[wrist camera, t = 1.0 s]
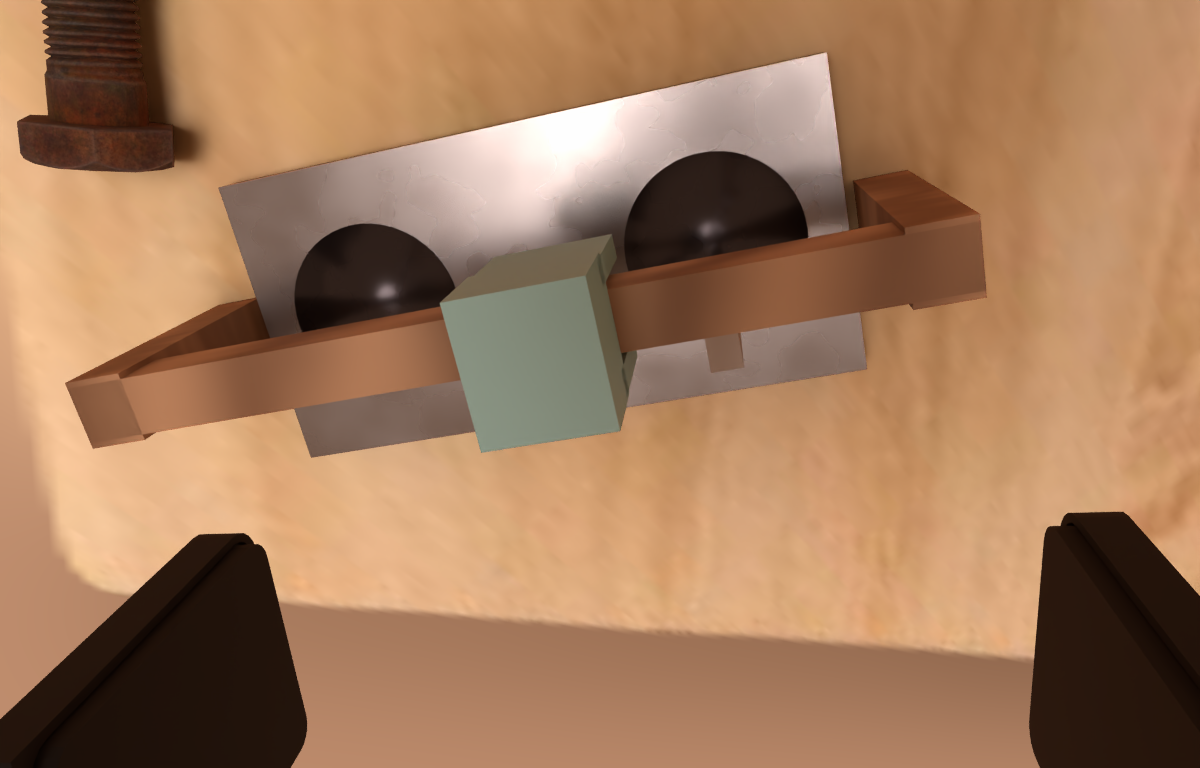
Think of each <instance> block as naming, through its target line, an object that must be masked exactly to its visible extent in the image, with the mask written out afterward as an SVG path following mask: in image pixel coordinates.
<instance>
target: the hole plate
mask: <svg viewBox="0 0 1200 768" xmlns="http://www.w3.org/2000/svg"><path fill="white" fill-rule="evenodd" d="M219 191H220V194H221V197H222V200H223V202H224V205H225V208H226V211H227V214H228V217H229V220H230V223H231V226H232V229H233V232H234V234H235V237H236V240H237V243H238V246H239V249H240V252H241V255H242V258H243V261H244V264H245V267H246V269H247V272H248V275H249V278H250V281H251V284H252V287H253V290H254V293H255V296H256V299H257V301H258V304H259V307H260V310H261V313H262V316H263V319H264V322H265V325H266V328H267V331H268V334H269V336H270V338H275V337H280V336H286V335H291V334H296V333H302V332H307V331H313V330H318V329H323V328H329V327H334V326H339V325H345V324H350V323H355V322H361V321H366V320H371V319H377V318H382V317H388V316H393V315H398V314H404V313H409V312H414V311H420V310H425V309H430V308H436V307H441V306H440V302H441V301H442V300H443V299H444V298H446V297H447V296H448V295H449V294H450V293H451V292H452V291H453V290H454V289H455V288H457V287H458V286H459V285H460V284H461V283H462V282H463V281H464V280H465V279H466V278H468V277H471V276H474V275H475V274H476V273H477V272H478V271H479V270H481V269H482V268H483V267H484V266H485V265H486V264H487V263H488V262H489V261H490V260H491V259H492V258H494V257H496V256H502V255H507V254H512V253H517V252H522V251H527V250H532V249H537V248H543V247H548V246H553V245H558V244H563V243H568V242H573V241H579V240H584V239H589V238H594V237H599V236H604V235H609V234H612V237H613V242H614V247H615V251H616V256H617V259H616V261H615V263H614V265H613V267H612V269H611V272H610V274H609V275H613V274H618V273H623V272H629V271H634V270H639V269H645V268H650V267H655V266H661V265H666V264H671V263H677V262H682V261H688V260H693V259H698V258H704V257H709V256H714V255H720V254H725V253H730V252H736V251H741V250H747V249H752V248H757V247H763V246H768V245H773V244H779V243H784V242H789V241H795V240H800V239H805V238H811V237H816V236H822V235H827V234H832V233H838V232H843V231H848V230H849V223H848V215H847V207H846V200H845V192H844V184H843V176H842V168H841V160H840V153H839V145H838V137H837V129H836V121H835V113H834V105H833V98H832V90H831V82H830V74H829V66H828V58H827V52H824V53H818V54H814V55H809V56H805V57H800V58H796V59H791V60H787V61H782V62H778V63H773V64H769V65H764V66H760V67H756V68H751V69H747V70H742V71H738V72H733V73H729V74H724V75H720V76H715V77H711V78H706V79H702V80H697V81H693V82H688V83H684V84H679V85H675V86H670V87H666V88H661V89H657V90H652V91H648V92H643V93H639V94H634V95H630V96H625V97H621V98H616V99H612V100H607V101H603V102H598V103H594V104H589V105H585V106H580V107H576V108H571V109H567V110H562V111H558V112H553V113H549V114H544V115H540V116H535V117H531V118H526V119H522V120H517V121H513V122H508V123H504V124H499V125H495V126H490V127H486V128H481V129H477V130H472V131H468V132H463V133H459V134H454V135H450V136H445V137H441V138H436V139H432V140H427V141H423V142H418V143H414V144H409V145H405V146H400V147H396V148H391V149H387V150H382V151H378V152H373V153H369V154H364V155H360V156H355V157H351V158H346V159H342V160H337V161H333V162H328V163H324V164H319V165H315V166H310V167H306V168H301V169H297V170H292V171H288V172H283V173H279V174H274V175H270V176H265V177H261V178H256V179H252V180H247V181H243V182H238V183H234V184H230V185H226V186H223V187H219ZM741 341H742V351H743V362H744V368H739V369H733V370H727V371H721V372H715V373H711V371H710V366H709V360H708V355H707V349H706V344H705V339H700V340H694V341H688V342H682V343H677V344H671V345H665V346H659V347H653V348H647V349H641V350H636V351H637V360H636V364H635V368H634V372H633V376H632V380H631V384H630V388H629V392H630V394H629V398H628V402H627V406H626V407H633V406H639V405H645V404H651V403H658V402H664V401H670V400H677V399H683V398H689V397H695V396H702V395H708V394H714V393H721V392H727V391H733V390H739V389H746V388H752V387H758V386H765V385H771V384H777V383H783V382H790V381H796V380H802V379H809V378H815V377H821V376H827V375H834V374H840V373H846V372H853V371H859V370H865V369H867V364H866V357H865V349H864V341H863V333H862V325H861V317H860V312H859V313H853V314H847V315H841V316H835V317H829V318H823V319H817V320H812V321H806V322H800V323H794V324H788V325H782V326H776V327H770V328H765V329H759V330H753V331H747V332H741ZM295 412H296V415H297V418H298V421H299V424H300V427H301V430H302V433H303V435H304V438H305V441H306V444H307V447H308V450H309V453H310V456H311V458H312V457H318V456H325V455H331V454H337V453H343V452H350V451H356V450H362V449H369V448H375V447H381V446H387V445H394V444H400V443H406V442H413V441H419V440H425V439H431V438H438V437H444V436H450V435H457V434H463V433H469V432H475V429H474V425H473V421H472V418H471V414H470V411H469V407H468V403H467V400H466V396H465V393H464V389H463V385H462V382H461V380H459V381H453V382H448V383H442V384H436V385H430V386H424V387H418V388H412V389H407V390H401V391H395V392H389V393H383V394H377V395H371V396H365V397H360V398H354V399H348V400H342V401H336V402H330V403H324V404H318V405H313V406H307V407H301V408H295Z"/></svg>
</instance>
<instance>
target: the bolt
mask: <svg viewBox="0 0 1200 768" xmlns="http://www.w3.org/2000/svg"><path fill="white" fill-rule="evenodd" d="M135 1H137V0H42V1H41V3H42V4H44V5H45V6H47V8H46V9H44V10H42V13H43V14H44V15H46V16H48V18H46V19H45V20H43V21H42V23H43V24H45V25H47V26H49V28H47V29H45V30H43V33H44V34H46V35H47V36H49V38H47V39H45V40H44V43H46V44H48V45H50V46H51V47H50V48H48V49H46V50H45V53H46V54H48V55H51V57H49V58H48V59H47V60H46V65H47V71H46V73H45V85H46V96H47V107H48V115H29V116H27V117H25V118H23V119H21V120H19V121H18V122H17V127H18V135H19V144H20V153H21V155H22V156H23V158H24V159H26V160H28V161H30V162H32V163H34V164H38V165H43V166H47V167H53V168H58V169H73V170H89V171H115V172H144V171H155V170H163V169H168V168H172V167H174V142H173V126H172V125H171V124H162V123H153V122H149V115H148V101H147V87H146V82H145V80H144V79H143V72H142V71H141V69H140V68H141V67H142V66H143V63H141V62H140V61H138V60H137V59H138V58H141V57H142V54H140V53H139V52H138V51H136V49H139V48H141V46H142V45H141V44H139V43H138V42H136V41H135V40H137V39H140V38H141V36H140V35H139V34H137V33H136V32H135V31H136V30H138V29H141V28H140V26H139V25H138V24H136V23H135V21H137V20H139V19H140V17H139V16H137V15H136V14H135V13H134V12H135V11H137V10H139V7H138V6H137V5H135V4H134V3H133V2H135Z"/></svg>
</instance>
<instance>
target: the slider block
mask: <svg viewBox="0 0 1200 768" xmlns="http://www.w3.org/2000/svg"><path fill="white" fill-rule="evenodd" d="M616 259H617V256H616V251H615V247H614V242H613V237H612V234H609V235H604V236H599V237H594V238H589V239H584V240H579V241H573V242H568V243H563V244H558V245H553V246H548V247H543V248H537V249H532V250H527V251H522V252H517V253H512V254H507V255H502V256H496V257H494V258H492V259H491V260H490V261H489V262H488V263H487V264H486V265H485V266H484V267H483V268H482V269H481V270H479V271H478V272H477V273H476V274H475V275H474V276H471V277H468V278H466V279H465V280H464V281H463V282H462V283H461V284H460V285H459V286H458V287H457V288H455V289H454V290H453V291H452V292H451V293H450V294H449V295H448V296H447V297H446V298H444V299H443V300H442V301H441V302H440V306H441V310H442V314H443V317H444V321H445V324H446V328H447V332H448V335H449V339H450V342H451V346H452V349H453V353H454V357H455V360H456V364H457V367H458V371H459V375H460V378H461V382H462V385H463V389H464V393H465V396H466V400H467V403H468V407H469V411H470V414H471V418H472V421H473V425H474V429H475V432H476V436H477V439H478V443H479V447H480V450H481V453H482V452H489V451H495V450H502V449H508V448H515V447H521V446H528V445H534V444H541V443H547V442H554V441H560V440H566V439H573V438H579V437H586V436H592V435H599V434H605V433H612V432H618V431H620V430H621V426H622V422H623V418H624V414H625V410H626V406H627V402H628V398H629V394H630V392H629V388H630V384H631V380H632V376H633V372H634V368H635V364H636V360H637V351H636V350H635V351H630V352H624V353H621V350H620V346H619V341H618V337H617V332H616V327H615V323H614V318H613V314H612V309H611V304H610V300H609V295H608V290H607V286H606V280H607V278H608V276H609V274H610V272H611V269H612V267H613V265H614V263H615V261H616Z"/></svg>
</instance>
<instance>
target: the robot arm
mask: <svg viewBox="0 0 1200 768" xmlns="http://www.w3.org/2000/svg"><path fill="white" fill-rule="evenodd" d="M1029 729H1030V738H1031V744H1032V748H1033V752H1034V754H1035V757H1036V759H1037V762H1038V764H1039V766H1040V768H1200V596H1199V595H1198V593H1197V592H1196V591H1195V590H1194V589H1193V588H1192V587H1191V586H1190V584H1189V583H1188V582H1187V581H1186V580H1185V579H1184V578H1183V577H1182V575H1181V574H1180V573H1179V572H1178V571H1177V570H1176V569H1175V568H1174V566H1173V565H1172V564H1171V563H1170V562H1169V561H1168V560H1167V559H1166V557H1165V556H1164V555H1163V554H1162V553H1161V552H1160V551H1159V550H1158V548H1157V547H1156V546H1155V545H1154V544H1153V543H1152V542H1151V541H1150V539H1149V538H1148V537H1147V536H1146V535H1145V534H1144V533H1143V532H1142V530H1141V529H1140V528H1139V527H1138V526H1137V525H1136V524H1135V522H1134V521H1133V520H1132V519H1131V518H1130V517H1129V516H1128V515H1127V514H1125V513H1124V512H1090V513H1067V514H1066V515H1065V516H1064V518H1063V520H1062V523H1061V526H1049V527H1048V528H1047V530H1046V532H1045V537H1044V546H1043V558H1042V570H1041V583H1040V595H1039V607H1038V619H1037V632H1036V644H1035V656H1034V669H1033V682H1032V693H1031V706H1030V720H1029ZM306 732H307V718H306V712H305V708H304V705H303V700H302V697H301V693H300V688H299V684H298V680H297V676H296V672H295V668H294V664H293V660H292V655H291V651H290V648H289V643H288V639H287V635H286V631H285V627H284V623H283V619H282V615H281V611H280V607H279V602H278V598H277V594H276V590H275V586H274V582H273V578H272V574H271V570H270V566H269V562H268V558H267V555H266V552H265V550H264V548H263V547H262V546H260V545H259V544H254V542H253V541H252V539H251V538H250V537H249V536H248V535H246V534H244V533H236V534H202V535H198V536H196V537H195V538H193V539H192V540H191V541H190V542H189V543H188V544H187V545H186V546H185V547H184V548H182V549H181V550H180V551H179V552H178V553H177V554H176V555H175V556H174V557H173V558H172V559H171V560H170V561H169V562H168V563H166V564H165V565H164V566H163V567H162V568H161V569H160V570H159V571H158V572H157V573H156V574H155V575H154V576H153V577H152V578H150V579H149V580H148V581H147V582H146V583H145V584H144V585H143V586H142V587H141V588H140V589H139V590H138V591H137V592H136V593H134V594H133V595H132V596H131V597H130V598H129V599H128V600H127V601H126V602H125V603H124V604H123V605H122V606H121V607H120V608H118V609H117V610H116V611H115V612H114V613H113V614H112V615H111V616H110V617H109V618H108V619H107V620H106V621H105V622H104V623H102V625H100V626H99V627H98V628H97V629H96V630H95V631H94V632H93V633H92V634H91V635H90V636H89V637H88V638H86V639H85V641H83V642H82V643H81V644H80V645H79V646H78V647H77V648H76V649H75V650H74V651H73V652H72V653H70V655H68V656H67V657H66V658H65V659H64V660H63V661H62V662H61V663H60V664H59V665H58V666H57V667H56V668H54V669H53V670H52V671H51V672H50V673H49V674H48V675H47V676H46V677H45V678H44V679H43V680H42V681H41V682H40V683H39V684H37V685H36V686H35V687H34V688H33V689H32V690H31V691H30V692H29V693H28V694H27V695H26V696H25V697H24V698H22V699H21V700H20V701H19V702H18V703H17V704H16V705H15V706H14V707H13V708H12V709H11V710H10V711H9V712H8V713H6V715H4V716H3V717H2V718H1V719H0V768H291V766H292V764H293V763H294V761H295V759H296V758H297V756H298V754H299V753H300V751H301V749H302V747H303V745H304V741H305V738H306Z"/></svg>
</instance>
